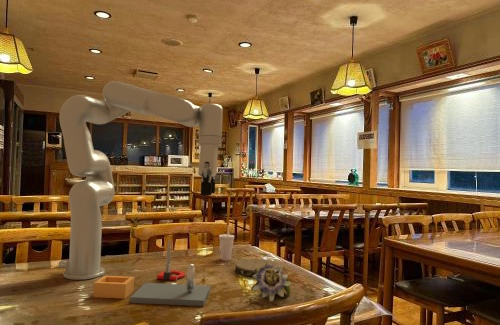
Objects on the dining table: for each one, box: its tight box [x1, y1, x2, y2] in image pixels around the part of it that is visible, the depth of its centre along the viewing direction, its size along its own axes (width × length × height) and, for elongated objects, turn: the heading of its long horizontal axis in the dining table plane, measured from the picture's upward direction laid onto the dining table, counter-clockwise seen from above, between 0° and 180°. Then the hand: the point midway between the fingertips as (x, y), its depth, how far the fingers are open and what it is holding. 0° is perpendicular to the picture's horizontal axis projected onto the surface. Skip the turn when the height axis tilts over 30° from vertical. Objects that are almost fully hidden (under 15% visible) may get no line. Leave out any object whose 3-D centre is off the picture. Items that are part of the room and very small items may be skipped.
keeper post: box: [186, 263, 195, 292], centre depth 100 cm, size 2×2×8 cm
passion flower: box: [250, 261, 292, 303], centre depth 103 cm, size 11×11×12 cm
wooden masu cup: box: [92, 275, 135, 300], centre depth 101 cm, size 9×7×4 cm
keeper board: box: [130, 282, 211, 307], centre depth 100 cm, size 20×12×2 cm, turn 88°
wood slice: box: [235, 258, 280, 279], centre depth 127 cm, size 16×16×3 cm
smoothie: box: [218, 224, 235, 262], centre depth 143 cm, size 6×6×14 cm
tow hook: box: [156, 240, 185, 282], centre depth 119 cm, size 8×13×9 cm
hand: (208, 194), depth 114 cm, fingers open, 9 cm apart
